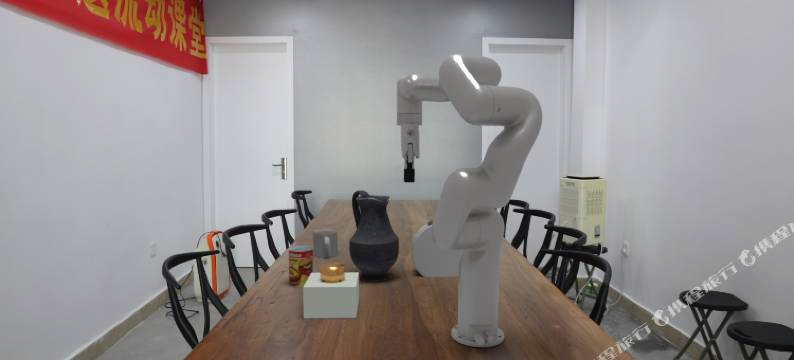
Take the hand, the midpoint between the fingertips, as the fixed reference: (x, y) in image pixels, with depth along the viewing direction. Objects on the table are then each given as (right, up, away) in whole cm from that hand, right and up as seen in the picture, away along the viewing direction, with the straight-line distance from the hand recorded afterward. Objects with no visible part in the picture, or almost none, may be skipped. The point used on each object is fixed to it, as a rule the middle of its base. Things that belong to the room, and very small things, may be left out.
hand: (409, 182), depth 140 cm
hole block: (-22, -36, -8) cm, 43 cm away
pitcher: (-13, -34, +24) cm, 43 cm away
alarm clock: (+12, -33, +28) cm, 45 cm away
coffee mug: (-34, -31, +55) cm, 71 cm away
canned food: (-35, -34, +16) cm, 52 cm away
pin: (-22, -35, -8) cm, 42 cm away
